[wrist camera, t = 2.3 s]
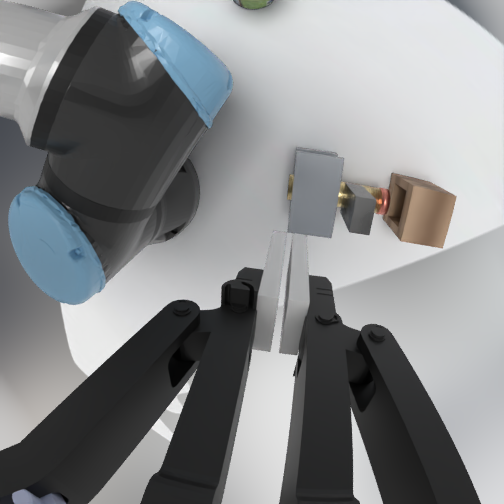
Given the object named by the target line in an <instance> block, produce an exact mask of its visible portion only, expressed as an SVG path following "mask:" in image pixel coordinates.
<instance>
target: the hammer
mask: <svg viewBox="0 0 504 504" xmlns="http://www.w3.org/2000/svg"><path fill="white" fill-rule="evenodd" d="M293 182H294V175H292V174H290V177H289V185H288V194H287V200H291V199H292V190H293ZM389 206H390V192H389V190H388V189H385V188H375V187H370V186H364V185H359V184H353V183H347V182H341V184H340V191H339V197H338V203H337V207H341V210H340V213H341V215H342V217H343V219H344V221H345V224H346V226H347V228H348V230H349V232H351V233H358V234H364V235H369V234H370V229H371V225H372V220H373V215H374V213H376V214H381V215H386V214H387V212H388V209H389Z"/></svg>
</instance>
